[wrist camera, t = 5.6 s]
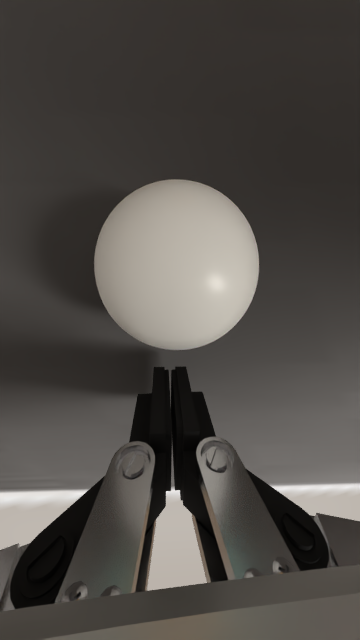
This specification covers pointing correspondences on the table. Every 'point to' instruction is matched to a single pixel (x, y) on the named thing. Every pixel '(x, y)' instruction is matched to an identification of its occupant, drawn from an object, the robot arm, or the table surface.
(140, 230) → the white ball
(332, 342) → the table surface
